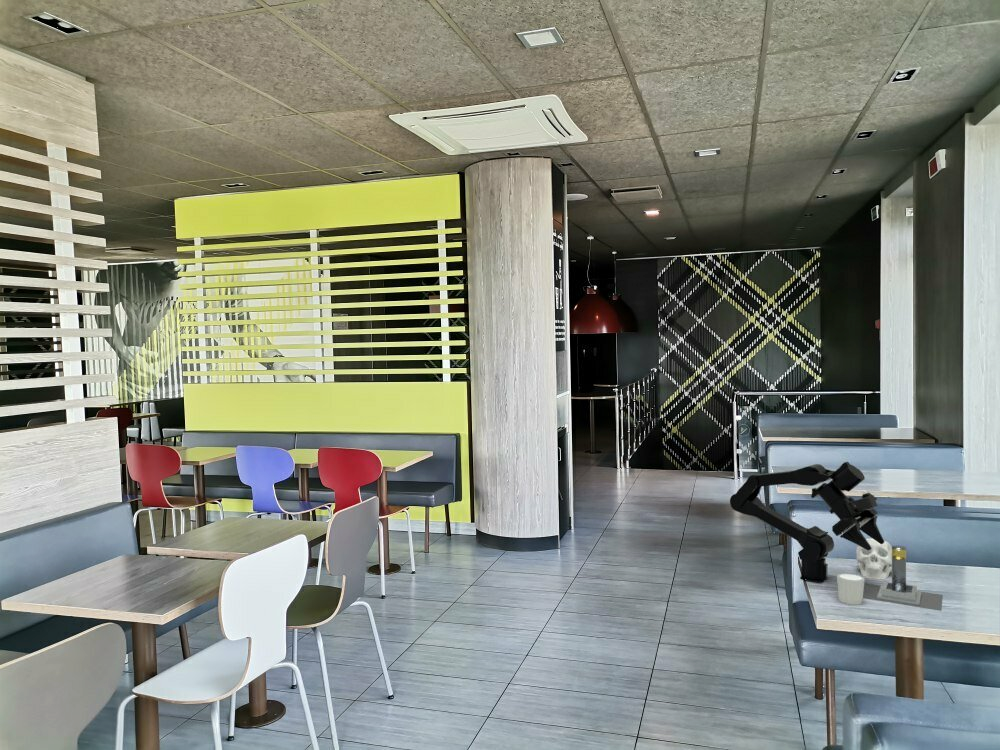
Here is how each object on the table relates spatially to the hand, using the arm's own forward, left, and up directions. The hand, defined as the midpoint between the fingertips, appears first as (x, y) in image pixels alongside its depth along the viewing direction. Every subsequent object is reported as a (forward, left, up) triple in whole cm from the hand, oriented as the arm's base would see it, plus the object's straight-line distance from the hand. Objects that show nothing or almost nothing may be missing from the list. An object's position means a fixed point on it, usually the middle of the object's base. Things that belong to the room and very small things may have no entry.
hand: (876, 546), depth 204 cm
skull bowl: (-2, +19, -14) cm, 24 cm away
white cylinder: (-5, -12, -13) cm, 19 cm away
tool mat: (+5, -1, -13) cm, 14 cm away
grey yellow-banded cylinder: (+6, -2, -12) cm, 13 cm away
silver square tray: (+6, -2, -13) cm, 14 cm away
